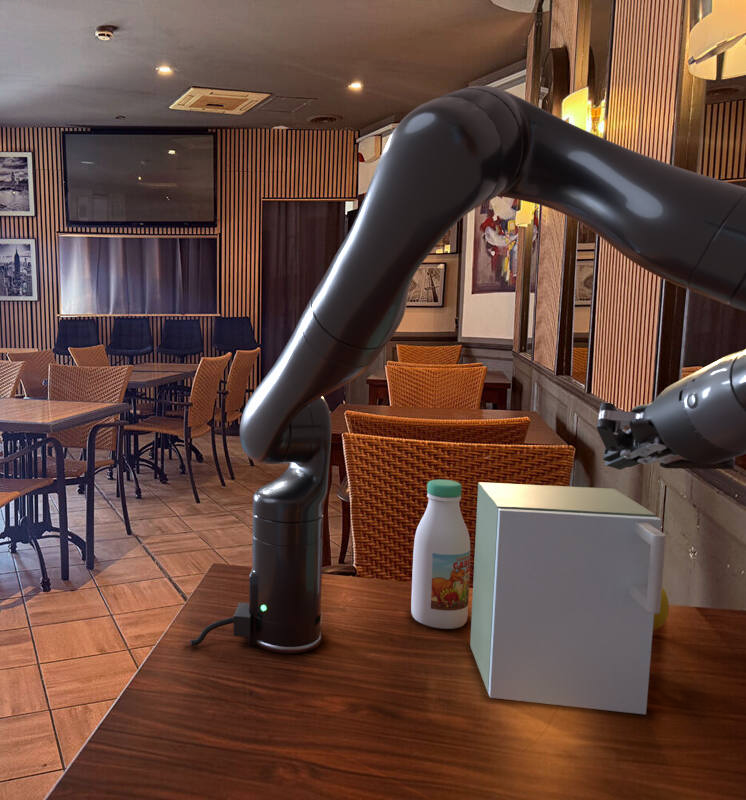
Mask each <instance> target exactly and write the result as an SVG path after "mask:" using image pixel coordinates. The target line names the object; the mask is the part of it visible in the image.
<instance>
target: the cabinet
mask: <svg viewBox="0 0 746 800" xmlns="http://www.w3.org/2000/svg"><path fill="white" fill-rule="evenodd" d="M498 508H502V509H520V510H537V511H555V512H573V513H591V514H608V515H626V516H644V517H657V514H656V513H654V512H653V511H651V510H649V509H648V508H646V507H644V506H643V505H641V504H640V503H638V502H636V501H635V500H633V499H632V498H630V497H628V496H627V495H626V494H624V493H622V492H620V491H619V490H617V489H616V488H607V487H606V488H605V487H584V486H566V485H564V486H562V485H547V484H546V485H545V484H543V485H541V484H522V483H505V482H503V483H502V482H501V483H500V482H483V481H482V482H477V501H476V519H475V537H474V538H475V542H474V561H473V579H472V581H473V582H472V602H471V620H470V621H471V623H470V641H469V646H470V649H471V652H472V654H473V657H474V659H475V660H474V661H475V662H476V665H477V668H478V670H479V674H480V676H481V679H482V681H483V684H484V687H485V689H486V692H487V693H488V691H489V672H490V653H491V635H492V616H493V597H494V578H495V559H496V541H497V522H498Z"/></svg>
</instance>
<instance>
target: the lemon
mask: <svg viewBox="0 0 746 800" xmlns="http://www.w3.org/2000/svg"><path fill="white" fill-rule="evenodd" d="M669 603H670V602H669V598H668V595H667V592H666V590H665V589H664V588H663V587H662V592H661V605H660V613H659V614H654V622H653V631H656V630H658V629H660V628H662V626H664V624H665V623H666V621H667V620H668V618H669V617H668V616H669V613H670V604H669Z"/></svg>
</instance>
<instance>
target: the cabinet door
mask: <svg viewBox="0 0 746 800" xmlns="http://www.w3.org/2000/svg"><path fill="white" fill-rule="evenodd" d="M662 521H663V520H662V519H661V518H660V517H658V516H656V517H644V516H626V515H608V514H591V513H573V512H555V511H537V510H520V509H502V508H498V522H497V541H496V559H495V578H494V597H493V616H492V635H491V653H490V672H489V691H488V692H487V693H488V696H489V698H490V699H498V700H506V701H516V702H525V703H535V704H544V705H552V706H553V705H554V706H563V707H572V708H580V709H589V710H599V711H607V712H608V711H610V712H617V713H626V714H636V715H647V707H648V695H649V683H650V669H651V658H652V645H653V634H654V633H653V632H654V630H653V622H654V614H659V613H660V605H661V592H662V588H663V578H664V567H665V554H666V542H667V535H666V534H665V533H664V532H662Z"/></svg>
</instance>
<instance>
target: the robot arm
mask: <svg viewBox="0 0 746 800" xmlns="http://www.w3.org/2000/svg"><path fill="white" fill-rule="evenodd" d="M496 197H501V198H508V199H512V200H517V201H523V202H526V203H531V204H535V205H539V206H541V207H545V208H548V209H551V210H554V211H556V212H558V213H559V214H563V215H565V216H567V217H569V218H571V219H573V220H574V221H577V222H578V223H579V224H582V225H583V226H584V227H585V228H587V229H589V230H590V231H591V232H593V233H595V234H596V235H597V236H598V237H600V238H601V239H602V240H603V241H604V242H606V243H607V244H608V245H609V246H611V247H612V248H613V249H614V250H616V251H617V252H618V253H619V254H621V255H622V256H624V257H625V258H626V259H628V260H629V261H631V262H632V263H634V264H635V265H637V266H638V267H640V268H642V269H643V270H645V271H647V272H649V273H650V274H652V275H654V276H657V277H659V278H660V279H663V280H665V281H667V282H669V283H672V284H674V285H677V286H678V287H681V288H683V289H685V290H689V291H691V292H694V293H697V294H699V295H701V296H704V297H706V298H710V299H712V300H715V301H717V302H720V303H722V304H725V305H727V306H729V305H730V307H733V308H735V309H737V310H742V311H743V312H746V187H744V186H741V185H737V184H734V183H730V182H726V181H724V180H721V179H717V178H714V177H711V176H708V175H705V174H701V173H697V172H695V171H691V170H688V169H685V168H682V167H679V166H677V165H672V164H670V163H667V162H664V161H662V160H659V159H657V158H653V157H651V156H648V155H645V154H643V153H640V152H637V151H635V150H632V149H630V148H627V147H624V146H622V145H619V144H618V143H615V142H612V141H610V140H608V139H606V138H604V137H601V136H599V135H596V134H594V133H592V132H590V131H587V130H585V129H583V128H582V127H581V128H580V127H579V126H577V125H574V124H573V123H570V122H568V121H566V120H564V119H563V118H560V117H558V116H556V115H555V114H553V113H551V112H549V111H547V110H545V109H544V108H541V107H540V106H537V105H535V104H534V103H532V102H529V101H528V100H525V99H524V98H521V97H519V96H517V95H515V94H513V93H511V92H508V91H506V90H504V89H502V88H499V87H495V86H491V85H471V86H467V87H463V88H461V89H457V90H454V91H453V92H450V93H447V94H444V95H442V96H440V97H437V98H433V99H431V100H428V101H427V102H423V103H422V104H420V105H418V106H416V107H415V108H414V109H412V110H411V111H410V112H408V113H407V114H406V115H405V116H404V117H403V118H402V119H401V120H400V122H399V123H398V124H396V126H395V127H394V129H393V131H392V132H391V134H390V135H389V138H388V139H387V142H386V144H385V146H384V149H383V151H382V153H381V155H380V157H379V160H378V162H377V165H376V168H375V170H374V172H373V174H372V177H371V181H370V182H369V185H368V188H367V189H366V192H365V194H364V198H363V199H362V202H361V205H360V207H359V210H358V212H357V214H356V217H355V219H354V221H353V223H352V226H351V227H350V230H349V231H348V233H347V235H346V236H345V238H344V240H343V242H342V244H341V245H340V247H339V248H338V249H337V252H336V254H335V255H334V257H333V259H332V261H331V262H330V264H329V266H328V268H327V270H326V272H325V274H324V275H323V277H322V278H321V280H320V282H319V283H318V285H317V287H316V288H315V290H314V291H313V294H312V296H311V298H310V300H309V301H308V303H307V305H306V307H305V308H304V311H303V312H302V314H301V316H300V318H299V320H298V322H297V324H296V327H295V329H294V330H293V333H292V334H291V336H290V337H289V339H288V342H287V343H286V345H285V346H284V348H283V350H282V351H281V353H280V355H279V356H278V357H277V359H276V361H275V362H274V364H273V366H271V368H270V370H269V371H268V373H266V375H265V377H263V379H262V381H261V382H260V383H259V384H258V386H256V388H255V390H254V391H253V392H252V394H251V395H250V397H249V399H248V401H247V402H246V405H245V407H244V409H243V411H242V415H241V419H240V424H239V440H240V445H241V448H242V451H243V452H244V453H245V455H246V457H248V458H249V459H250V460H252V461H253V462H255V463H259V464H264V465H279V464H280V465H281V464H289V465H288V467H287V469H286V470H285V471H284V472H283V473H282V474H281V475H280V476H279V477H277V478H276V479H274V480H272V481H270V482H268V483H267V484H264V485H263V486H261V487H259V488H257V490H256V491H254V493H253V496H252V543H251V544H252V545H251V546H252V547H251V548H252V549H251V552H252V553H251V570H250V573H249V576H248V577H249V578H248V602H238V604H237V607H236V609H235V612H234V614H233V616H231V617H227V618H224V619H220V620H217V621H215V622H213V623H211V624H209V625H207V626H206V627H204V629H203V630H202V631H201V632H200V634H199V635H198V637H197V638H195V639H190V646H191V647H196V646H198V645H201V643H202V642H203V641H204V639H205V638H206V636H207V635H208V634H209V633H211V631H213V630H215V629H217V628H220V627H223V626H226V625H230V624H233V628H232V629H233V636H234V637H243V638H248V640H247V641H248V645H249V646H256V647H258V648H261V649H262V650H265V651H267V652H271V653H276V654H282V655H283V654H284V655H296V654H304V653H307V652H310V651H312V650H313V651H314V650H315V649H316V648H318V647H319V646H320V645H321V642H322V631H321V630H322V620H323V613H324V612H323V611H324V609H323V608H322V589H323V588H322V585H323V584H322V583H323V582H322V581H323V579H322V578H323V542H324V541H323V540H324V539H323V538H324V507H325V501H326V498H327V495H328V488H329V473H330V463H331V462H330V460H331V451H332V450H331V449H332V434H333V432H332V431H333V430H332V427H333V426H332V417H331V411H330V407H329V404H328V403H327V401H326V399H325V398H324V397H325V396H327V395H329V394H331V393H332V392H334V391H336V390H338V389H340V388H341V387H343V386H345V385H347V384H348V383H350V382H352V381H353V380H354V379H356V378H357V377H359V376H360V375H362V374H363V373H364V372H366V371H367V370H368V369H369V368H370V367H371V365H372V364H373V363H374V362H375V361H376V360H377V359H378V357H379V356H380V354H381V353H382V351H383V350H384V349H385V348H386V346H387V345H388V344H389V342H390V341H391V339H392V338H393V337H394V335H395V334H396V332H397V330H398V328H399V327H400V324H401V323H402V321H403V319H404V316H405V313H406V309H407V306H408V298H409V293H410V292H409V291H410V287H411V283H412V281H413V278H414V277H415V274H416V273H417V271H418V270H419V269H420V266H422V264H423V263H424V261H425V260H426V259H427V258H428V256H429V255H430V254H431V253H432V251H433V250H434V249H435V248H436V246H437V245H438V244H439V242H441V240H443V238H444V237H445V236H446V234H447V233H449V231H450V230H451V229H452V228H453V227H454V226H455V225H457V223H458V222H459V221H460V220H462V219H463V218H464V217H465V216H466V215H468V214H469V213H471V212H472V211H474V210H475V209H477V208H479V207H481V206H482V205H484V204H486V203H488V202H490V201H491V200H493V199H495V198H496ZM626 426H629V429H627V430H626V431H624V429H625V427H626ZM596 430H597V432H598V435H599V437H600V439H601V441H602V443H603V445H604V450H603V451H604V452H603V457H602V459H603V461H604V465H605V466H607V467H610V468H613V469H616V470H620V471H621V470H623V469H626V468H632V467H635V466H637V465H640V464H642V465H651V464H654V463H657V462H658V463H659V466H660V467H661V468H664V469H680V470H681V469H683V470H685V469H686V470H687V469H689V470H691V469H692V470H693V469H695V470H733V469H734V468H735V461H736V458H738V457H741V456H744V455H746V348H745V349H742V350H739V351H736V352H733V353H731V354H728V355H725V356H723V357H721V358H719V359H717V360H716V361H713V362H711V363H709V364H708V365H706V366H704V367H701V368H700V369H697V370H696V371H695V372H693V373H691V374H689V375H687V376H685V377H683V378H682V379H680V380H678V381H676V382H673V383H672V384H670V385H668V386H667V387H665V388H664V390H662V391H661V392H660V393H659V394H658V395H657V397H656V398H655V399H654V400H653V401H652V402H651V403H646V404H639V405H636V406H634V407H633V408H632V409H631V411H625V410H622V409H617V408H616V405H615V404H613V403H611V402H602V403H600V405H599V411H598V417H597V423H596Z"/></svg>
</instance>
